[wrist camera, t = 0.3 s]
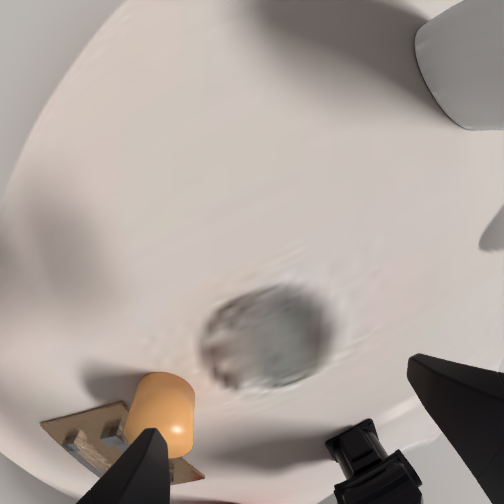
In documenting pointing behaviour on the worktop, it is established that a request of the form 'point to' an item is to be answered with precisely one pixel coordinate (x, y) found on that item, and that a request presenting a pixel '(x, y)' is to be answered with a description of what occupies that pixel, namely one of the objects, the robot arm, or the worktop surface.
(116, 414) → the socket
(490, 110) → the utensil holder
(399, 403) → the worktop surface
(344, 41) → the worktop surface
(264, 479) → the worktop surface
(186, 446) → the cap
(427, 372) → the robot arm
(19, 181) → the worktop surface
